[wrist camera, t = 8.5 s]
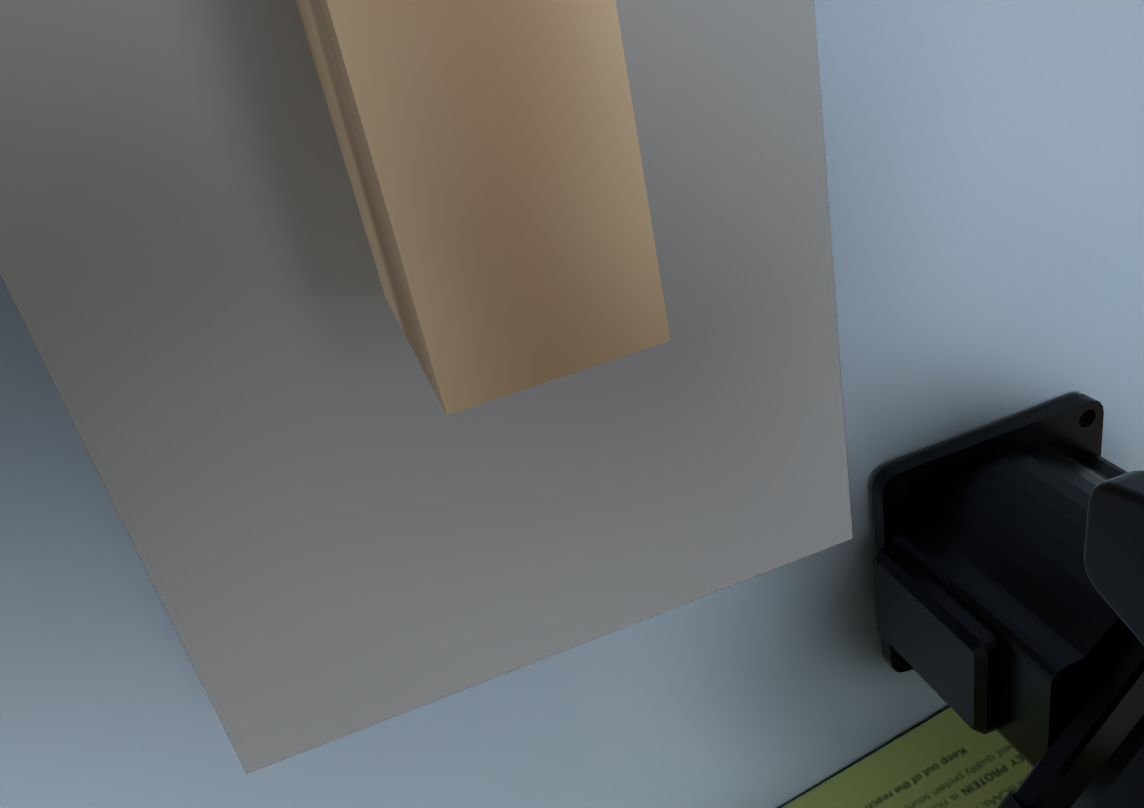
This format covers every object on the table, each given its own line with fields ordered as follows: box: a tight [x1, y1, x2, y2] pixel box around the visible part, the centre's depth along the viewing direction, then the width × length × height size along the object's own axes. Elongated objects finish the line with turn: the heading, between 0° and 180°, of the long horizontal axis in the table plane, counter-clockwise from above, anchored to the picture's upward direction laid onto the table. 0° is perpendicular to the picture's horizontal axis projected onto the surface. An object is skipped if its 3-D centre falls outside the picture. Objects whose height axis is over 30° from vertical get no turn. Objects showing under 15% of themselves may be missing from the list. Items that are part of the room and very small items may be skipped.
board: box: [0, 0, 853, 774], centre depth 17 cm, size 13×20×3 cm, turn 12°
